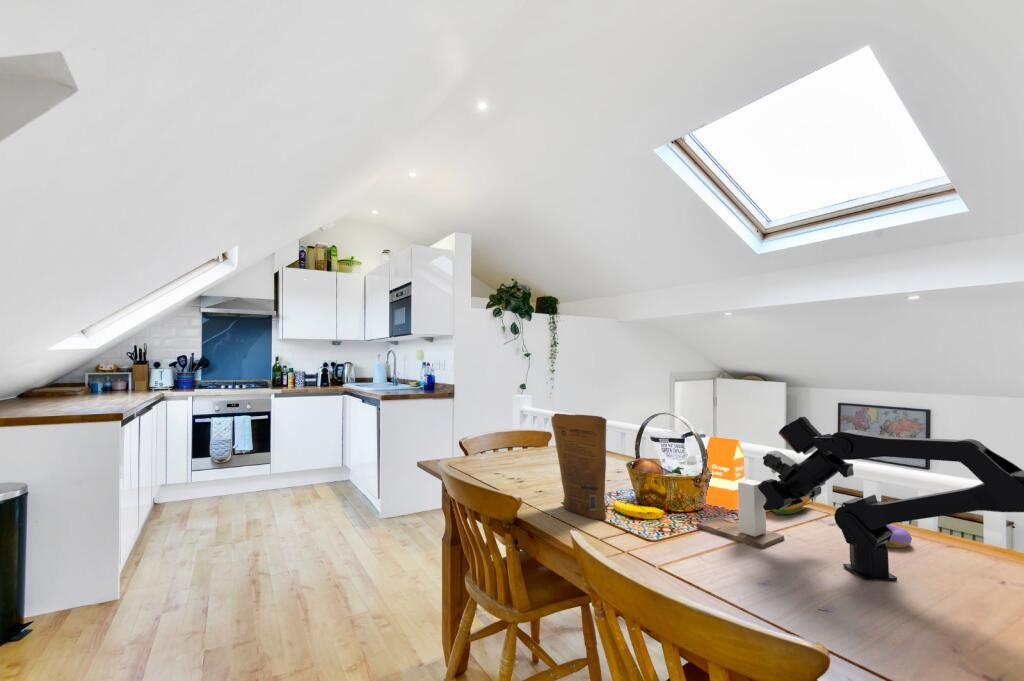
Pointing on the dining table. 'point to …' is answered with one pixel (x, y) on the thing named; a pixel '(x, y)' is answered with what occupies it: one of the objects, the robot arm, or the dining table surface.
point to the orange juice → (724, 472)
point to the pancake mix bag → (582, 462)
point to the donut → (898, 537)
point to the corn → (792, 507)
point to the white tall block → (751, 508)
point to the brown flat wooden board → (732, 531)
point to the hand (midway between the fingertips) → (765, 508)
